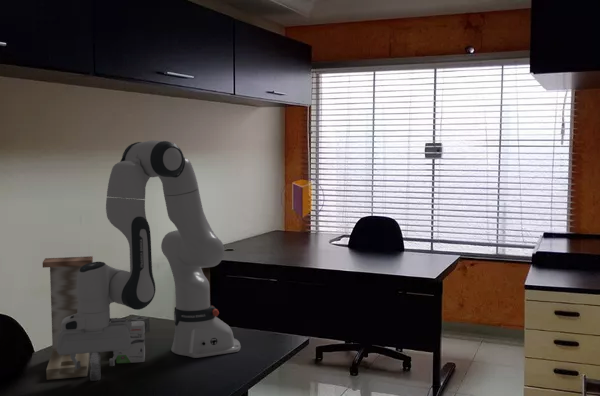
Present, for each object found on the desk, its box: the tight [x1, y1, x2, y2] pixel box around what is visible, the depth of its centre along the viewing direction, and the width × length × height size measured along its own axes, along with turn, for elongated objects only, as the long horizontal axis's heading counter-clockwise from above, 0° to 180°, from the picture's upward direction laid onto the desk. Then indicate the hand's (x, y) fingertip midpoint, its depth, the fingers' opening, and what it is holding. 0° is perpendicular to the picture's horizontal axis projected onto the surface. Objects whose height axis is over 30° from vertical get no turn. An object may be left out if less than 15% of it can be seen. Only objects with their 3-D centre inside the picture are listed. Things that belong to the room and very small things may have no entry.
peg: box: [89, 352, 102, 382], centre depth 186 cm, size 3×3×10 cm
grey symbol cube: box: [128, 315, 151, 334], centre depth 233 cm, size 5×5×5 cm
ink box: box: [115, 321, 146, 364], centre depth 202 cm, size 9×5×12 cm, turn 101°
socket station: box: [42, 255, 94, 380], centre depth 195 cm, size 14×19×32 cm
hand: (95, 366), depth 186 cm, fingers open, 8 cm apart
